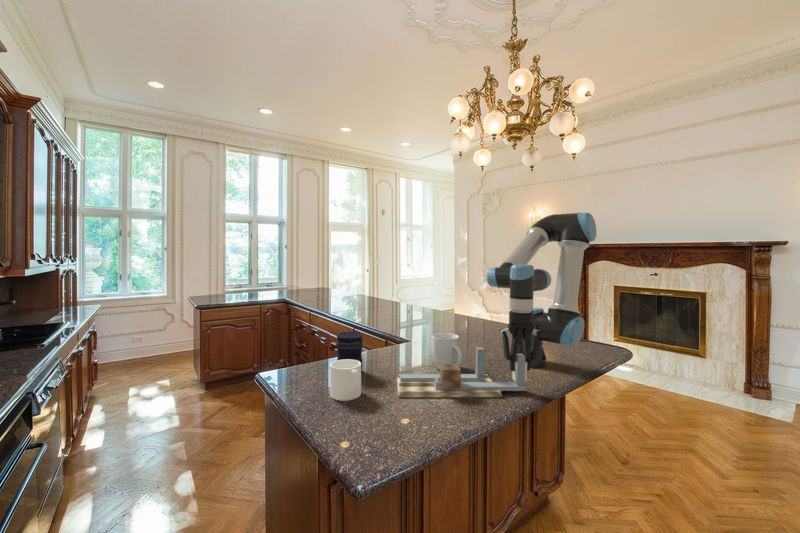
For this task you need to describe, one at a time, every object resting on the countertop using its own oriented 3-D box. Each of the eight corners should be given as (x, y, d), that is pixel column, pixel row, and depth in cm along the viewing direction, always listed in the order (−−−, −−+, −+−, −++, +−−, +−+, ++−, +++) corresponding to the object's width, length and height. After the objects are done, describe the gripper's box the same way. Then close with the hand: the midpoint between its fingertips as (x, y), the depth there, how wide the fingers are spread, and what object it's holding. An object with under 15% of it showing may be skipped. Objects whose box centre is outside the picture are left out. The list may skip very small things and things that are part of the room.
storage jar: (367, 373, 136) (367, 334, 136) (347, 379, 129) (347, 339, 128) (351, 367, 143) (351, 330, 142) (331, 373, 136) (331, 334, 135)
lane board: (488, 378, 131) (488, 374, 131) (502, 396, 115) (502, 391, 115) (397, 379, 130) (397, 374, 130) (397, 397, 114) (397, 391, 114)
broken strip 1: (441, 377, 128) (441, 374, 128) (442, 381, 124) (442, 378, 124) (400, 377, 128) (400, 374, 128) (400, 382, 124) (400, 378, 124)
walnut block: (457, 381, 121) (457, 364, 121) (460, 388, 115) (460, 370, 115) (439, 381, 121) (439, 364, 121) (442, 388, 115) (442, 370, 115)
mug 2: (471, 372, 138) (471, 339, 137) (449, 377, 132) (450, 343, 131) (446, 361, 150) (446, 331, 150) (425, 366, 144) (425, 334, 144)
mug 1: (325, 393, 117) (325, 362, 117) (352, 386, 123) (351, 357, 122) (342, 407, 107) (342, 373, 106) (370, 399, 113) (370, 367, 112)
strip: (521, 386, 121) (522, 353, 120) (525, 390, 117) (526, 356, 116) (434, 386, 120) (434, 353, 120) (435, 391, 116) (436, 357, 116)
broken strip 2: (482, 377, 129) (482, 346, 128) (485, 381, 125) (485, 350, 124) (452, 377, 128) (452, 346, 128) (454, 381, 124) (454, 350, 124)
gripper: (539, 308, 121) (537, 376, 123) (494, 308, 121) (493, 376, 122) (549, 312, 114) (547, 384, 115) (501, 312, 114) (500, 384, 115)
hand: (519, 379), depth 119 cm, fingers closed on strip, 2 cm apart
